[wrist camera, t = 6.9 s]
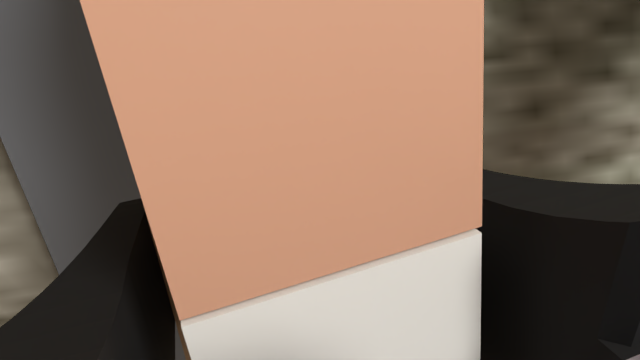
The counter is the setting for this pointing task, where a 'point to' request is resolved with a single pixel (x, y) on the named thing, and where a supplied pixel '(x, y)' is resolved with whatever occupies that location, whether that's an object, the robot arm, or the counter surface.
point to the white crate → (359, 312)
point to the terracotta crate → (294, 132)
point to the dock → (61, 125)
